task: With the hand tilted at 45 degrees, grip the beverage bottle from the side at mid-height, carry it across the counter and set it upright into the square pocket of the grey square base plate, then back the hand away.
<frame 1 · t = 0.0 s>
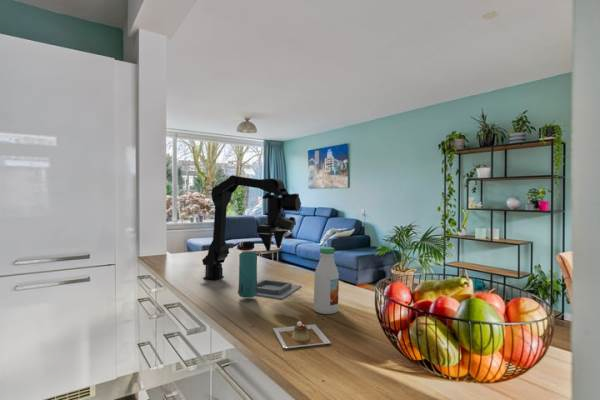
hand: (273, 249, 132), 15 cm above the worktop, tool pointing down, fingers open, 9 cm apart
grey square base plate: (270, 289, 127), on the worktop
milk bottle: (325, 311, 105), on the worktop
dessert: (300, 340, 85), on the worktop
beverage bottle: (247, 299, 114), on the worktop
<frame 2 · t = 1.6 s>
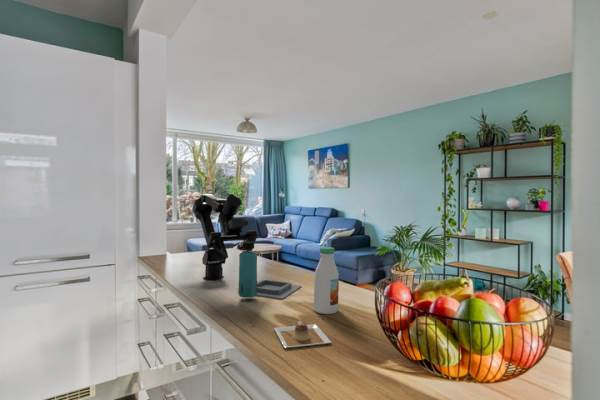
hand: (239, 256, 121), 14 cm above the worktop, tool tilted 45°, fingers open, 9 cm apart
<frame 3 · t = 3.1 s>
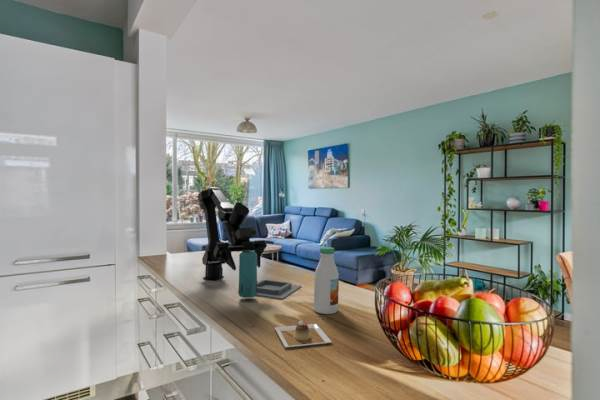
hand: (247, 268, 115), 11 cm above the worktop, tool tilted 45°, fingers open, 9 cm apart
nothing on the worktop moved.
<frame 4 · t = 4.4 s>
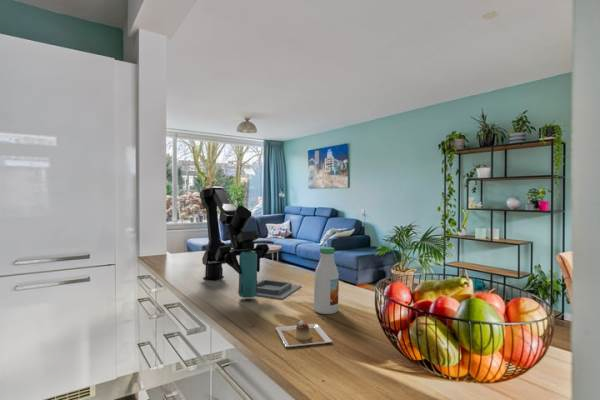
hand: (249, 272, 113), 10 cm above the worktop, tool tilted 45°, fingers closed on beverage bottle, 6 cm apart
beverage bottle: (247, 299, 114), on the worktop, touching gripper
everything else where it was.
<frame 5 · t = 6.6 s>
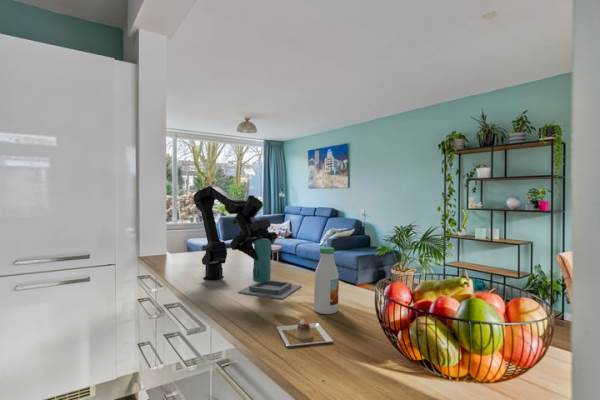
hand: (264, 258, 119), 13 cm above the worktop, tool tilted 45°, fingers closed on beverage bottle, 6 cm apart
beverage bottle: (261, 285, 120), point 3 cm above the worktop, touching gripper
when the fingers open (11 cm above the worktop, at t = 9.0 s): beverage bottle stays where it is, resting on grey square base plate.
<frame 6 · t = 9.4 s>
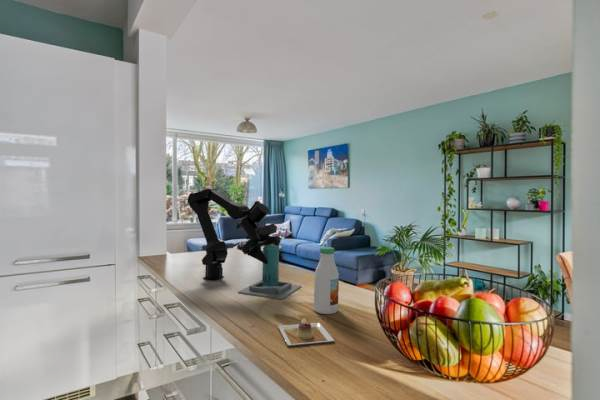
hand: (274, 261, 126), 11 cm above the worktop, tool tilted 45°, fingers open, 9 cm apart
beverage bottle: (270, 288, 127), resting on grey square base plate
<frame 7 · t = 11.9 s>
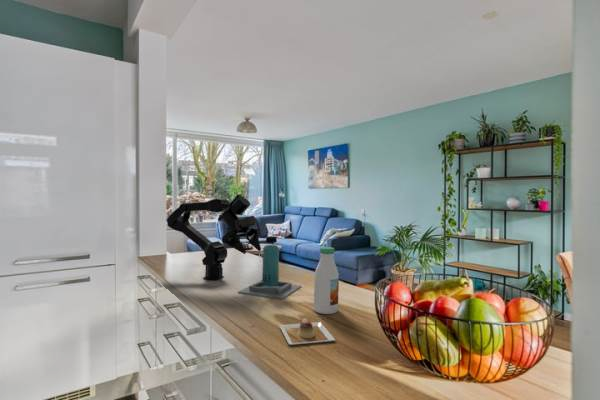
hand: (253, 251, 132), 13 cm above the worktop, tool tilted 45°, fingers open, 9 cm apart
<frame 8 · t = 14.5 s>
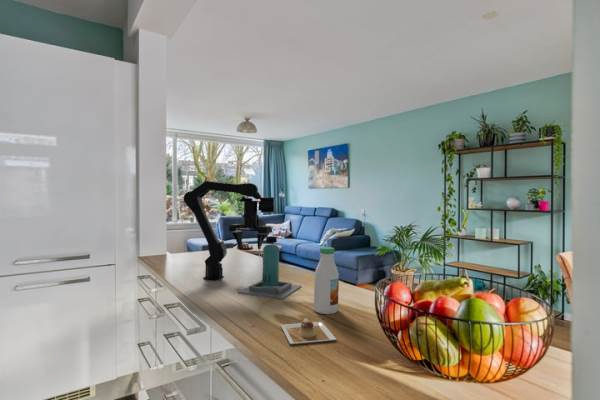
hand: (249, 248, 143), 13 cm above the worktop, tool pointing down, fingers open, 9 cm apart
at the end: beverage bottle 0.2 cm off-centre on the grey square base plate, point 0.3 cm above the grey square base plate's base; beverage bottle tilted 0°; the gripper is holding nothing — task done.
